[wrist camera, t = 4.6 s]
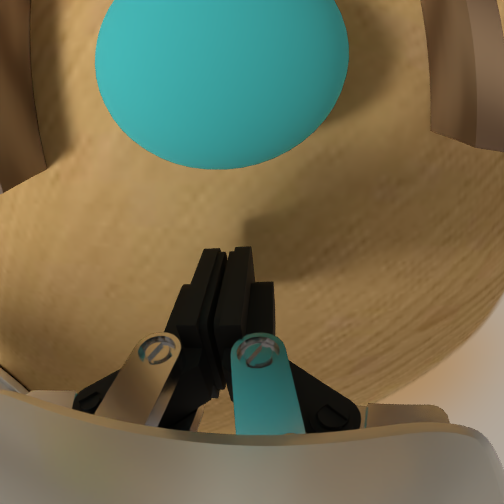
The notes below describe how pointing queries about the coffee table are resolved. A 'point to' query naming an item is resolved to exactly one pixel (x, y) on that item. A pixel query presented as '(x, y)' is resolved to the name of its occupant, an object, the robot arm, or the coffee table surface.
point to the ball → (221, 75)
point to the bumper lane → (440, 66)
